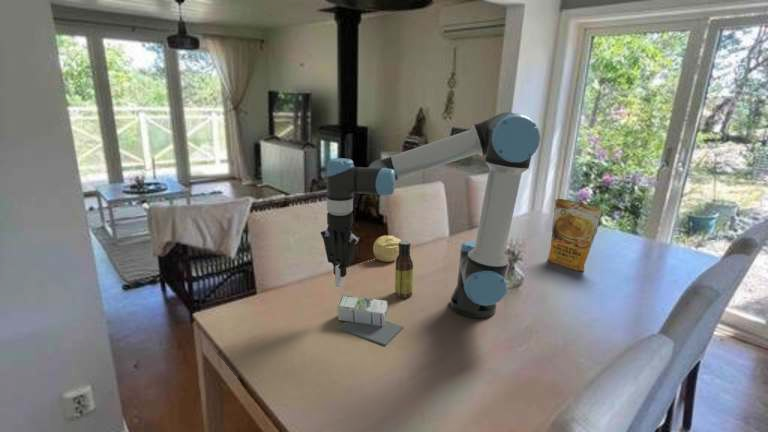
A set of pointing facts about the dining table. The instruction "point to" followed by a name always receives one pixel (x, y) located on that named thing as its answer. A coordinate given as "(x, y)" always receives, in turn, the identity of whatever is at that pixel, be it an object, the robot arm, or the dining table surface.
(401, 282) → the sauce bottle
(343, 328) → the felt mat
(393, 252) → the yellow round lump
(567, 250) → the pancake mix bag
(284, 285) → the dining table surface
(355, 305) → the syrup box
